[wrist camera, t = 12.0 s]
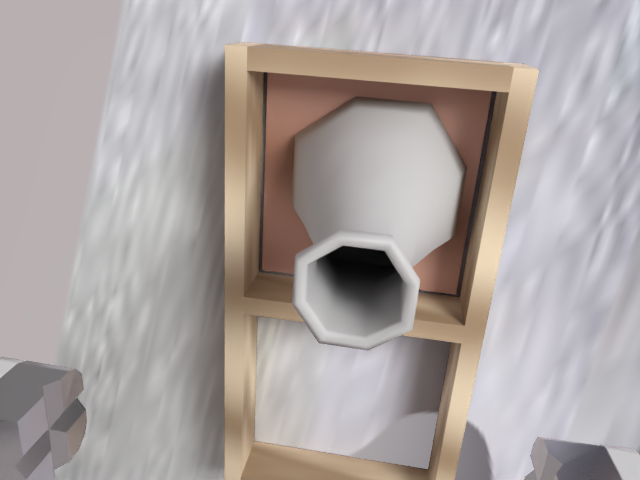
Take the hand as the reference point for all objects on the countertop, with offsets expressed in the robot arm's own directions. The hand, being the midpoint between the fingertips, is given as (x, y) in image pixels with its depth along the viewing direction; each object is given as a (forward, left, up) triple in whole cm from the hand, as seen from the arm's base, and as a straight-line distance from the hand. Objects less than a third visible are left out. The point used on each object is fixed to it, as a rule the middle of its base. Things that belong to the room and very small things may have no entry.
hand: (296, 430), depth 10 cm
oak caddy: (-4, 0, -14) cm, 15 cm away
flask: (+1, -1, -14) cm, 14 cm away
